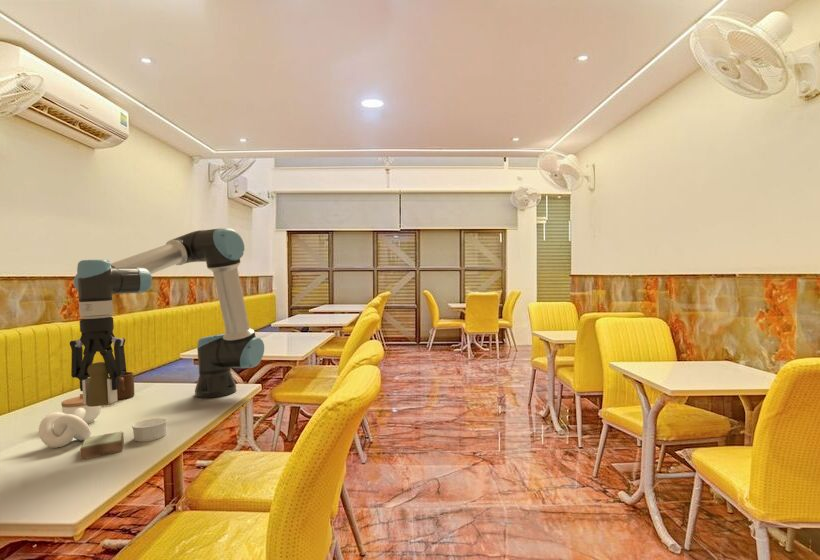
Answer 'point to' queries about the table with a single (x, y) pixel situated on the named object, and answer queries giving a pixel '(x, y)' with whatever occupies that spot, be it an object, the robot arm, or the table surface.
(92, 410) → the lidded jar
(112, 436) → the stand
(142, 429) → the ramekin
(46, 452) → the table surface
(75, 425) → the white decorative knot
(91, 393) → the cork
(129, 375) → the mug
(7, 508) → the table surface
